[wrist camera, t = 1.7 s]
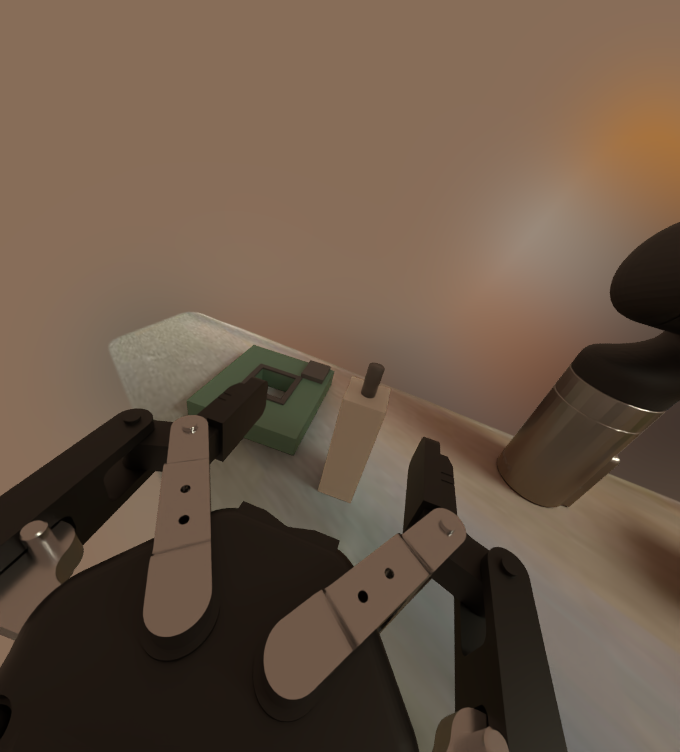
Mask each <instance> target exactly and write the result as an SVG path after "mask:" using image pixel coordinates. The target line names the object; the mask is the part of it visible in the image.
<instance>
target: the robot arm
mask: <svg viewBox="0 0 680 752" xmlns="http://www.w3.org/2000/svg"><path fill="white" fill-rule="evenodd" d="M610 298H611V302H612V304H613V306H614V307H615V309H616V310H617V311H618V312H619V313H620V314H622V315H623V316H625V317H626V318H629V319H630V320H633V321H635V322H638V323H642V324H645V325H648V326H651V327H654V328H658V329H661V330H664V332H663V333H661V334H660V335H659V336H657V337H655V338H652V339H649V340H646V341H641V342H636V343H626V344H593V345H589V346H587V347H585V348H584V349H583V350H582V351H581V352H580V353H579V354H578V355H577V357H576V358H575V360H574V361H573V362H572V363H571V364H570V366H569V367H568V368H567V370H566V371H565V372H564V373H563V375H562V376H561V377H560V378H559V380H558V381H557V382H556V384H555V385H554V386H553V388H552V389H551V390H550V391H549V393H548V394H547V395H546V397H545V398H544V399H543V400H542V402H541V403H540V404H539V405H538V407H537V408H536V409H535V411H534V412H533V413H532V415H531V416H530V417H529V418H528V419H527V421H526V422H525V423H524V425H523V426H522V427H521V428H520V430H519V431H518V433H517V434H516V435H515V436H514V437H513V439H512V440H511V441H510V443H509V444H508V445H507V446H506V448H504V450H503V452H502V453H501V454H500V455H499V457H498V459H497V467H498V469H499V472H500V474H501V475H502V477H503V478H504V480H505V481H506V482H507V483H508V484H509V485H510V486H511V487H512V488H513V489H514V490H515V491H516V492H517V493H519V494H520V495H521V496H523V497H524V498H526V499H527V500H529V501H531V502H533V503H535V504H538V505H541V506H545V507H557V506H560V505H565V506H568V507H570V506H571V505H572V504H573V503H574V502H575V501H577V500H578V499H579V498H580V497H581V496H582V495H584V494H585V493H586V492H587V491H588V490H589V489H591V488H592V487H593V486H594V485H595V484H596V483H598V482H599V481H600V480H601V479H602V478H603V477H604V476H606V475H607V474H608V473H609V472H610V471H611V470H613V469H614V468H615V467H616V466H617V465H618V464H619V463H620V459H619V457H618V456H617V455H618V454H619V453H620V452H621V451H622V450H623V449H624V448H625V447H627V446H628V445H629V444H630V443H631V442H632V441H633V440H634V439H636V438H637V437H638V436H639V435H640V434H641V433H642V432H643V431H644V430H646V429H647V428H648V427H649V426H650V425H651V424H652V423H653V422H654V421H656V420H657V419H658V418H659V417H660V416H661V415H662V414H663V413H664V412H666V411H667V410H668V409H669V408H670V407H672V406H673V405H674V404H675V403H677V402H678V401H680V222H679V223H677V224H674V225H672V226H670V227H668V228H666V229H664V230H662V231H660V232H658V233H657V234H655V235H654V236H652V237H651V238H649V239H647V240H646V241H645V242H644V243H642V244H641V245H640V246H638V247H637V248H636V249H635V250H634V251H633V252H632V253H631V254H630V255H629V256H628V257H627V258H626V259H625V260H624V261H623V262H622V264H621V265H620V266H619V268H618V270H617V271H616V273H615V275H614V277H613V280H612V283H611V287H610ZM267 389H268V382H267V381H265V380H262V379H259V378H256V377H251V378H250V379H249V380H248V381H247V382H246V383H245V384H243V383H237V384H234V385H232V386H230V387H229V388H227V389H226V390H225V391H224V392H223V393H222V394H220V395H219V396H218V398H216V399H215V400H213V401H212V402H211V403H210V404H209V405H208V406H206V407H205V408H204V409H203V410H202V411H201V412H199V413H198V414H197V415H187V416H183V417H181V418H179V419H177V420H176V421H174V422H167V421H157V420H153V415H152V413H151V412H149V411H148V410H145V409H130V410H126V411H123V412H121V413H119V414H118V415H116V416H115V417H113V418H112V419H110V420H109V421H108V422H106V423H104V424H103V425H102V426H100V427H99V428H97V429H96V430H95V431H93V432H92V433H90V434H89V435H87V436H86V437H85V438H83V439H82V440H80V441H79V442H77V443H76V444H74V445H73V446H72V447H70V448H69V449H67V450H66V451H64V452H63V453H62V454H60V455H59V456H57V457H56V458H54V459H53V460H52V461H50V462H49V463H47V464H46V465H44V466H43V467H41V468H40V469H39V470H37V471H36V472H34V473H33V474H32V475H30V476H29V477H27V478H26V479H24V480H23V481H22V482H20V483H19V484H17V485H16V486H14V487H13V488H11V489H10V490H9V491H7V492H6V493H4V494H3V495H1V496H0V635H2V636H5V637H7V638H10V639H13V640H15V642H14V644H13V646H12V648H11V650H10V652H9V654H8V655H7V657H6V659H5V661H4V663H3V664H2V666H1V667H0V752H419V749H418V744H417V740H416V736H415V733H414V730H413V727H412V724H411V721H410V718H409V716H408V713H407V710H406V707H405V704H404V702H403V699H402V696H401V693H400V690H399V687H398V685H397V682H396V679H395V676H394V673H393V671H392V668H391V665H390V662H389V659H388V657H387V654H386V651H385V648H384V645H383V642H382V640H381V637H380V633H381V632H382V631H383V630H384V629H385V628H386V626H387V625H388V624H389V623H390V622H391V621H392V620H393V619H394V618H395V617H396V616H397V615H398V614H399V613H400V611H401V610H402V609H403V608H404V607H405V606H406V605H407V604H408V603H409V602H410V601H411V600H412V599H413V598H414V597H415V596H416V595H417V594H418V593H419V592H420V591H421V590H422V589H423V587H424V586H425V585H426V584H427V583H428V582H429V581H430V580H431V579H433V580H435V581H436V582H437V583H438V584H440V585H441V586H442V587H443V588H445V589H446V590H447V591H448V592H450V593H451V594H452V595H453V596H454V634H455V713H453V714H451V715H448V716H446V717H445V718H443V719H442V720H441V721H440V723H439V725H438V727H437V730H436V734H435V741H434V747H433V750H432V752H568V751H567V747H566V742H565V738H564V733H563V729H562V724H561V720H560V715H559V710H558V706H557V701H556V697H555V692H554V688H553V683H552V679H551V674H550V670H549V665H548V660H547V656H546V651H545V647H544V642H543V638H542V633H541V629H540V624H539V619H538V615H537V610H536V606H535V601H534V597H533V592H532V588H531V583H530V578H529V575H528V572H527V570H526V568H525V566H524V565H523V564H522V562H521V561H520V560H519V559H518V558H517V557H516V556H515V555H514V554H513V553H511V552H510V551H508V550H506V549H504V548H501V547H494V548H492V549H491V550H490V551H489V550H488V549H486V548H485V547H484V546H482V545H481V544H479V543H478V542H476V541H475V540H474V539H472V538H471V537H470V536H469V535H468V534H467V533H466V530H465V527H464V524H463V523H462V521H461V520H460V519H459V517H458V516H457V508H456V497H455V486H454V478H453V476H454V475H453V466H452V464H451V462H450V460H449V459H448V457H447V456H444V455H441V454H440V443H439V442H437V441H434V440H432V439H429V438H426V437H423V438H422V439H421V441H420V443H419V445H418V447H417V449H416V451H415V453H414V455H413V457H412V459H411V462H410V465H409V469H408V479H407V490H406V502H405V513H404V525H403V534H402V535H401V534H400V533H398V534H396V535H395V536H393V537H392V538H391V539H389V540H388V541H387V542H386V543H384V544H383V545H382V546H380V547H379V548H378V549H376V550H375V551H374V552H373V553H371V554H370V555H369V556H367V557H366V558H365V559H364V560H362V561H361V562H360V563H358V564H357V565H356V566H353V565H352V563H351V562H350V561H349V559H348V558H347V557H346V556H345V555H344V554H343V553H342V552H341V551H340V550H338V549H337V548H338V545H339V540H337V539H335V538H332V537H330V536H327V535H325V534H322V533H320V532H317V531H315V530H307V529H299V528H292V527H287V526H286V525H284V524H283V523H282V522H280V521H279V520H278V519H277V518H275V517H274V516H273V515H271V514H270V513H269V512H267V511H266V510H264V509H261V508H259V507H256V506H254V505H252V504H249V503H247V502H244V501H243V502H242V504H241V505H240V507H239V508H225V509H219V510H215V511H212V512H211V488H210V464H211V462H212V461H213V460H214V459H217V460H219V461H222V462H223V461H224V460H225V459H226V458H227V456H228V455H229V454H230V453H231V452H232V450H233V449H234V448H235V447H236V446H237V445H238V443H239V442H240V441H241V440H242V439H243V437H244V436H245V435H246V434H247V433H248V431H249V430H250V429H251V428H252V427H253V426H254V424H255V423H256V422H257V421H258V420H259V418H260V417H261V416H262V414H263V412H264V410H265V407H266V400H267ZM155 471H160V472H163V473H162V481H161V489H160V497H159V505H158V514H157V522H156V530H155V538H153V539H151V540H148V541H146V542H144V543H142V544H140V545H138V546H136V547H133V548H131V549H129V550H127V551H125V552H122V553H120V554H118V555H116V556H114V557H112V558H110V559H108V560H105V561H103V562H101V563H99V564H97V565H95V566H92V567H90V568H88V569H86V570H84V571H82V572H80V573H78V574H76V575H74V576H73V577H71V578H70V576H71V575H72V574H73V571H74V569H75V568H76V567H77V566H78V564H79V563H80V561H81V559H82V556H83V552H84V551H83V550H84V549H83V545H84V544H85V543H86V542H87V541H88V540H89V538H90V537H91V536H92V535H93V534H94V533H95V532H96V531H97V530H98V529H99V528H100V527H101V526H102V525H103V524H104V523H105V522H106V521H107V520H108V519H109V518H110V517H111V516H112V515H113V514H114V513H115V512H116V511H117V510H118V508H120V507H121V506H122V505H123V504H124V503H125V501H127V500H128V499H129V497H130V496H131V495H132V494H133V493H134V492H135V491H136V490H137V489H138V488H139V487H140V486H141V485H142V484H143V483H144V482H145V481H146V480H147V479H148V478H149V477H150V476H151V475H152V474H153V473H154V472H155Z"/></svg>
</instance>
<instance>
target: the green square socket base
mask: <svg viewBox="0 0 680 752" xmlns="http://www.w3.org/2000/svg"><path fill="white" fill-rule="evenodd" d="M330 368H331V367H330V366H327V365H324V364H320V363H317V362H314V361H310V362H309V363H308V362H305V361H302V360H299V359H295V358H292V357H289V356H286V355H283V354H280V353H277V352H274V351H271V350H268V349H265V348H262V347H259V346H256V345H253V346H252V347H251V348H250V349H248V350H247V351H246V352H245V353H243V354H242V355H241V356H240V357H239V358H237V359H236V360H235V361H234V362H233V363H231V364H230V365H229V366H228V367H226V368H225V369H224V370H223V371H222V372H220V373H219V374H218V375H217V376H216V377H214V378H213V379H212V380H211V381H209V382H208V383H207V384H206V385H205V386H203V387H202V388H201V389H200V390H199V391H197V392H196V393H195V394H194V395H192V396H191V397H190V398H189V399H188V400H187V408H188V415H197V414H198V413H199V412H201V411H202V410H203V409H204V408H205V407H206V406H208V405H209V404H210V403H211V402H212V401H213V400H215V399H216V398H218V396H219V395H220V394H222V393H223V392H224V391H225V390H226V389H227V388H229V387H230V386H232V385H234V384H237V383H243V384H245V383H246V382H247V381H248V380H249V379H250V378H251V377H256V378H259V379H262V380H265V381H267V382H268V386H270V387H273V388H276V389H279V390H282V391H285V394H284V395H283V396H282V398H281V399H280V398H277V397H274V396H271V395H268V394H267V400H266V407H265V410H264V412H263V414H262V416H261V417H260V418H259V420H258V421H257V422H256V423H255V424H254V426H253V427H252V428H251V429H250V430H249V431H248V433H247V434H246V435H245V436H244V438H246V439H249V440H252V441H255V442H257V443H260V444H263V445H266V446H268V447H271V448H274V449H277V450H279V451H282V452H285V453H288V454H290V455H294V454H295V452H296V450H297V448H298V446H299V444H300V442H301V440H302V439H303V437H304V435H305V433H306V431H307V429H308V427H309V425H310V424H311V422H312V420H313V418H314V416H315V414H316V412H317V410H318V408H319V407H320V405H321V403H322V401H323V399H324V397H325V395H326V393H327V392H328V390H329V388H330V386H331V383H332V379H333V374H334V371H332V370H330Z"/></svg>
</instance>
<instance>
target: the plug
mask: <svg viewBox="0 0 680 752" xmlns="http://www.w3.org/2000/svg"><path fill="white" fill-rule="evenodd" d="M383 372H384V367H383V366H382V365H381V364H378V363H370V365H369V367H368V370H367V374H366V377H365V380H363V379H360V378H357V377H354V376H352V379H351V381H350V383H349V386H348V388H347V390H346V392H345V395H344V397H343V400H342V403H341V407H340V411H339V414H338V418H337V422H336V425H335V429H334V433H333V436H332V440H331V444H330V447H329V451H328V455H327V458H326V462H325V466H324V470H323V473H322V477H321V481H320V484H319V488H318V491H319V492H322V493H324V494H327V495H330V496H332V497H335V498H338V499H340V500H343V501H346V502H348V503H351V501H352V498H353V496H354V493H355V491H356V488H357V485H358V483H359V480H360V478H361V475H362V473H363V470H364V468H365V465H366V463H367V460H368V458H369V455H370V453H371V450H372V448H373V445H374V443H375V440H376V438H377V435H378V432H379V430H380V427H381V425H382V422H383V420H384V417H385V415H386V411H387V406H388V401H389V396H390V391H391V388H388V387H384V386H381V385H379V384H380V381H381V378H382V375H383Z"/></svg>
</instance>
